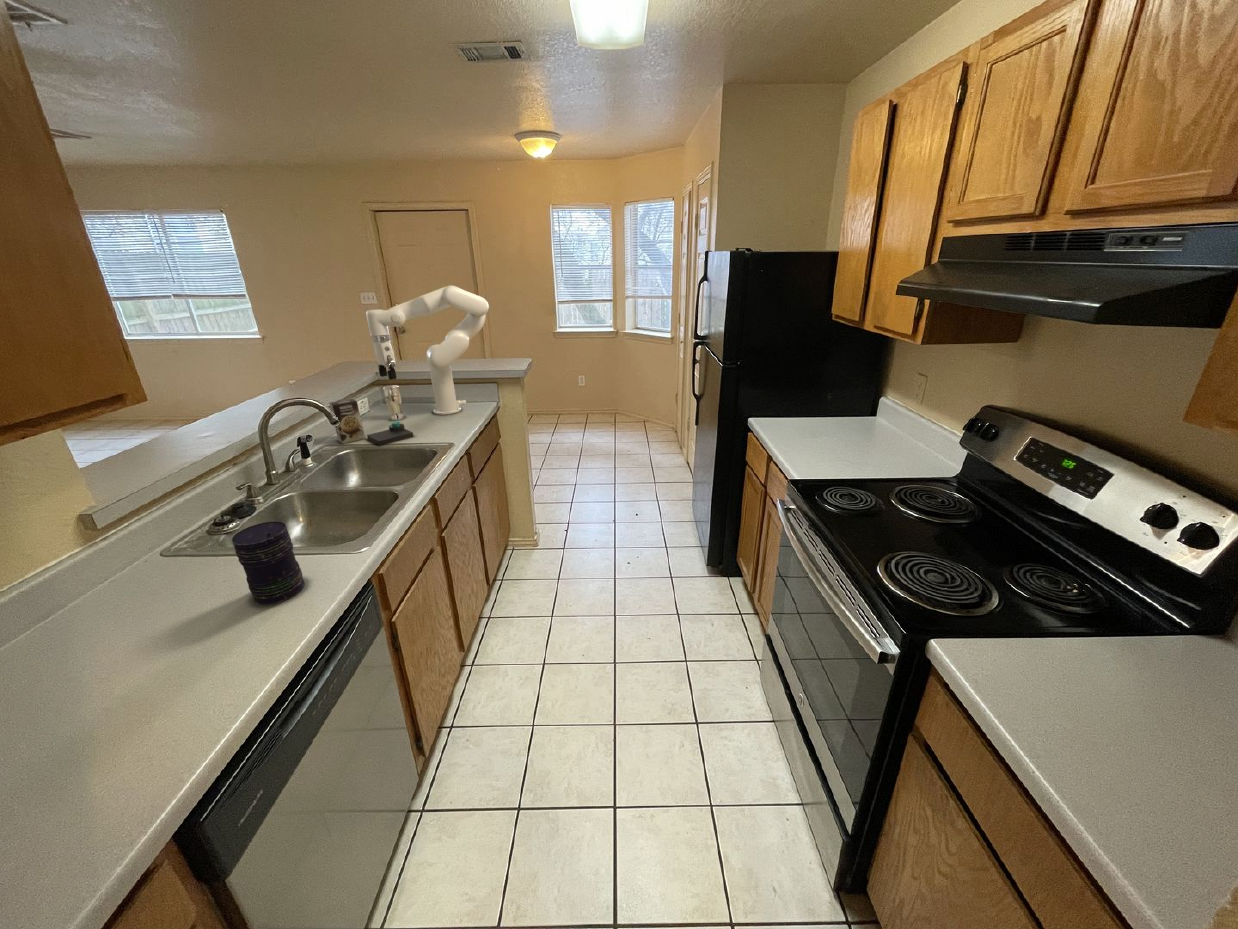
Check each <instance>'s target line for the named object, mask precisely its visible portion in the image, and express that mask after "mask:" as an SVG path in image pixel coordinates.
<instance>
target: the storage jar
mask: <svg viewBox="0 0 1238 929" xmlns="http://www.w3.org/2000/svg"><path fill="white" fill-rule="evenodd" d="M231 542H232V545H233V547H234V550H235V555H236V557H237V558H238V562H239V563H240V565H241V566H242V568H243V570H244V573H245V575H246V577H245V578H246V583H247V585H248V589H249V592H250V593H251V595H252V597H253V601H254V602H255V603H256V604H257V605H260V606H270V605H276V604H280V603H283V602H285V601H288V600H290V599H292V598H294V597H296V596H297V595H298V594H300V593H301V592H302V591H303V590H304V588H305V586H306V583H305V579H304V577H303V572H302V571H303V570H302V568H301V567H300V564H299V561H298V560H297V558H296V556H295V553H294V544H293V542H292V538H291V535H290V534H289V530H288V528H287V525H286V523H285V522H283V521H277V520H276V521H275V520H274V521H264V522H259V523H256V524H253V525H250V526H248V527H245V528H243V529H241V530H240V531H238V532H237V533H235V534H233V536H232V538H231Z"/></svg>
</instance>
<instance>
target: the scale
mask: <svg viewBox="0 0 1238 929" xmlns="http://www.w3.org/2000/svg"><path fill="white" fill-rule="evenodd" d="M366 436H367V440H369V441H370V442H372V443H374V444H376V445H377V446H384V445H387V444H392V443H395V442H399V441H402V440H406V439H410V438H414V432H413V431H411V430H408V429H406V428H405V424H404V423H400V426H398V427H393V426H392V424H391V425H389V426H388V429H386V430H382V431H377V432H373V433H369V434H366Z"/></svg>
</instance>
